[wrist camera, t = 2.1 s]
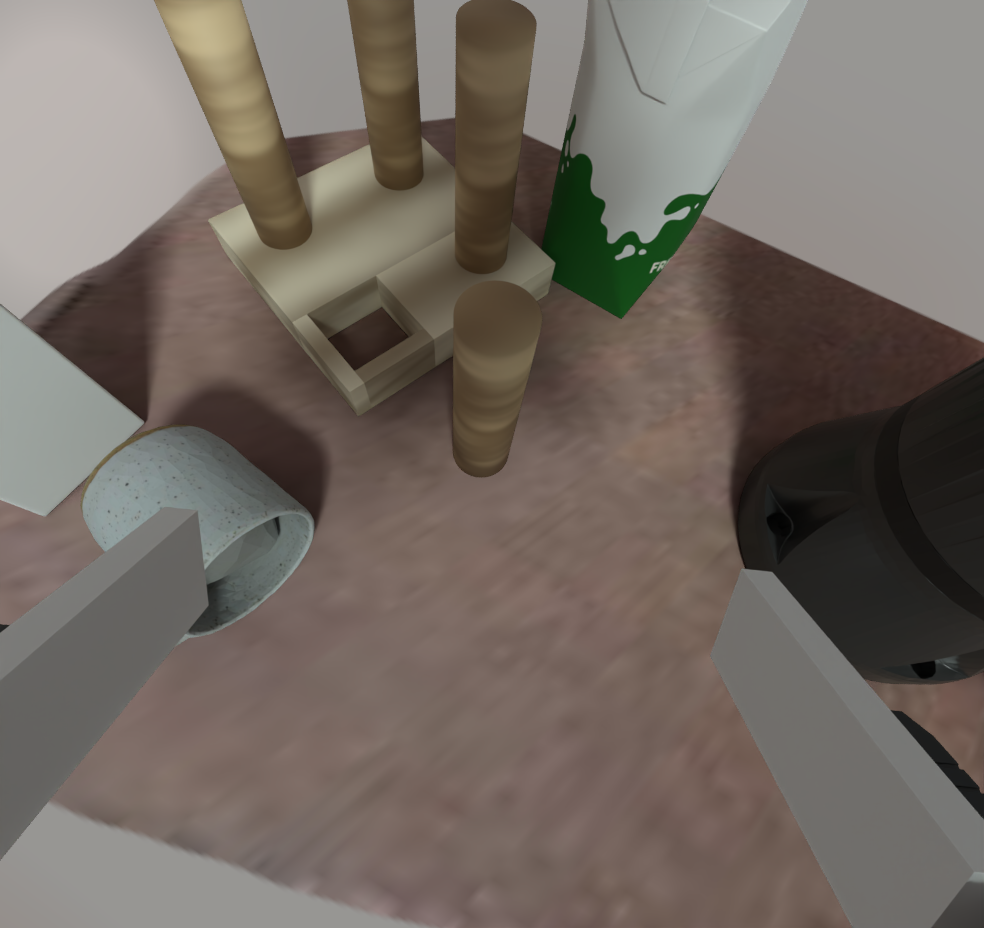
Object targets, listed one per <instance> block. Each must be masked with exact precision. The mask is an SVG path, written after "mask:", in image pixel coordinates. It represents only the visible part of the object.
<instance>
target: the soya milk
mask: <svg viewBox="0 0 984 928" xmlns="http://www.w3.org/2000/svg"><path fill="white" fill-rule="evenodd" d="M807 2H808V0H588V9H587V20H586V31H585V41H584V47H583V51H582V56H581V61H580V66H579V71H578V75H577V80H576V85H575V90H574V95H573V99H572V104H571V109H570V114H569V119H568V124H567V128H566V133H565V138H564V143H563V148H562V152H561V157H560V162H559V167H558V171H557V176H556V181H555V186H554V191H553V195H552V200H551V205H550V210H549V215H548V220H547V225H546V230H545V234H544V239H543V244H542V249H541V250H542V251H543V252H544V253H545V254H547V255H548V256H549V257H550V258H551V259H552V260H553V261H554V262H555V267H554V271H553V275H552V280H554V281H556V282H557V283H559V284H561V285H563V286H564V287H566V288H568V289H570V290H571V291H573V292H575V293H577V294H578V295H580V296H582V297H584V298H585V299H587V300H589V301H591V302H592V303H594V304H596V305H598V306H599V307H601V308H603V309H605V310H606V311H608V312H610V313H612V314H613V315H615V316H617V317H619V318H620V319H622V318H623V316H624V315H625V314H626V313H627V312H628V310H629V309H630V308H631V307H632V306H633V304H634V303H635V302H636V301H637V299H638V298H639V297H640V296H641V295H642V293H643V292H644V291H645V290H646V289H647V287H648V286H649V285H650V284H651V283H652V281H653V280H654V279H655V278H656V276H657V275H658V274H659V273H660V272H661V270H662V269H663V268H664V267H665V265H666V264H667V263H668V262H669V261H670V259H671V258H672V257H673V255H674V254H675V252H676V251H677V249H678V248H679V247H680V245H681V244H682V242H683V241H684V240H685V238H686V237H687V235H688V234H689V232H690V231H691V229H692V228H693V226H694V225H695V223H696V222H697V220H698V218H699V216H700V214H701V212H702V210H703V209H704V207H705V205H706V203H707V201H708V199H709V198H710V196H711V194H712V192H713V190H714V188H715V186H716V185H717V183H718V181H719V179H720V177H721V175H722V173H723V172H724V170H725V168H726V166H727V164H728V162H729V161H730V159H731V157H732V155H733V153H734V151H735V150H736V148H737V146H738V144H739V142H740V140H741V138H742V136H743V135H744V133H745V131H746V129H747V127H748V125H749V124H750V122H751V120H752V118H753V116H754V114H755V112H756V110H757V108H758V106H759V105H760V103H761V101H762V99H763V97H764V95H765V93H766V91H767V89H768V87H769V85H770V83H771V81H772V79H773V77H774V75H775V73H776V70H777V68H778V66H779V64H780V62H781V59H782V57H783V55H784V53H785V51H786V48H787V46H788V44H789V42H790V40H791V37H792V35H793V33H794V31H795V28H796V26H797V24H798V21H799V19H800V17H801V15H802V13H803V10H804V8H805V6H806V4H807Z"/></svg>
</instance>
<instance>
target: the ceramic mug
mask: <svg viewBox="0 0 984 928" xmlns="http://www.w3.org/2000/svg"><path fill="white" fill-rule="evenodd" d="M164 507H172V508H181V509H191V510H198V517H199V526H200V535H201V543H202V552H203V560H204V569H205V578H206V586H207V595H208V604H209V605H208V607H207V608H206V609H205V610H204V612H203V613H202V614H201V615H200V617H199V618H198V619H197V620H196V621H195V623H194V624H193V625H192V626H191V628H190V629H189V630H188V631H187V632H186V634H185V635H184V636H183V637H182V639H181V640H180V641H179V642H178V643H177V645H179V644H180V643H182V642H183V641H185V640H186V639H188V638H189V637H199V636H204V635H208V634H212V633H214V632H216V631H218V630H221V629H223V628H224V627H226V626H228V625H230V624H233V623H234V622H236V621H237V620H239V619H241V618H242V617H244V616H246V615H247V614H249V613H250V612H251V611H253V610H254V609H256V608H257V607H258V606H259V605H260V604H261V603H262V602H264V601H265V600H266V599H267V598H268V597H269V596H270V595H272V594H273V593H274V592H275V591H276V590H277V589H278V588H279V587H280V586H281V585H282V584H283V583H284V582H285V581H286V580H287V579H288V577H289V576H290V575H291V574H292V573H293V571H294V570H295V569H296V568H297V567H298V565H299V564H300V563H301V561H302V559H303V557H304V556H305V554H306V552H307V551H308V549H309V547H310V544H311V542H312V539H313V535H314V529H315V526H314V520H313V518H312V516H311V513H310V512H309V511H308V510H307V509H306V508H305V507H304V506H302V505H301V504H300V503H299V502H298V501H296V500H295V499H294V498H293V497H291V496H290V495H289V494H288V493H286V492H285V491H284V490H283V489H282V488H281V487H279V486H278V485H277V484H276V483H275V482H274V481H273V480H271V479H270V478H269V477H268V476H267V475H266V474H264V473H263V472H262V471H260V470H259V469H258V468H257V467H255V466H254V465H253V464H252V463H251V462H249V461H248V460H247V459H246V458H245V457H244V456H243V455H241V454H240V453H239V452H238V451H237V450H236V449H235V448H234V447H232V446H231V445H230V444H229V443H227V442H226V441H224V440H223V439H221V438H219V437H217V436H216V435H214V434H212V433H211V432H209V431H207V430H204V429H202V428H199V427H196V426H190V425H168V426H163V427H158V428H155V429H152V430H148V431H145V432H142V433H139V434H137V435H135V436H133V437H132V438H130V439H128V440H126V441H125V442H123V443H122V444H120V445H119V446H117V447H116V448H115V449H113V450H112V451H111V452H110V453H109V454H108V455H107V456H106V457H105V458H104V459H103V460H102V461H101V462H100V463H99V464H98V465H97V466H96V467H95V469H94V470H93V471H92V473H91V474H90V476H89V477H88V479H87V481H86V484H85V486H84V489H83V492H82V496H81V510H82V513H83V516H84V519H85V521H86V523H87V526H88V528H89V529H90V531H91V533H92V535H93V537H94V539H95V540H96V541H97V543H98V544H99V545H100V546H101V548H102V549H103V550H104V551H105V552H106V551H108V550H109V549H110V548H111V547H113V546H114V545H115V544H117V543H118V542H119V541H121V540H122V539H123V538H125V537H126V536H127V535H128V534H130V533H131V532H132V531H134V530H135V529H136V528H138V527H139V526H140V525H141V524H143V523H144V522H145V521H147V520H148V519H149V518H151V517H152V516H153V515H155V514H156V513H157V512H158V511H160V510H161V509H162V508H164Z"/></svg>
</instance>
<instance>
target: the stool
mask: <svg viewBox="0 0 984 928" xmlns="http://www.w3.org/2000/svg"><path fill="white" fill-rule="evenodd" d="M154 1H155V3H156V6H157V8H158V10H159V13H160V15H161V17H162V19H163V22H164V24H165V26H166V28H167V30H168V33H169V35H170V38H171V40H172V42H173V44H174V47H175V49H176V51H177V53H178V55H179V58H180V60H181V62H182V64H183V66H184V69H185V71H186V73H187V76H188V78H189V80H190V82H191V85H192V87H193V89H194V91H195V94H196V96H197V98H198V101H199V103H200V105H201V107H202V110H203V112H204V114H205V116H206V119H207V121H208V123H209V125H210V127H211V130H212V132H213V134H214V137H215V139H216V141H217V143H218V146H219V148H220V150H221V152H222V154H223V157H224V159H225V161H226V164H227V166H228V168H229V170H230V173H231V175H232V177H233V179H234V182H235V184H236V186H237V188H238V191H239V193H240V195H241V197H242V200H243V202H244V203H243V204H241V205H239V206H237V207H234V208H232V209H230V210H228V211H226V212H224V213H222V214H219V215H217V216H215V217H213V218H211V219H209V220H208V221H209V223H210V225H211V227H212V228H213V230H214V232H215V234H216V236H217V238H218V240H219V241H220V243H221V245H222V247H223V249H224V251H225V253H226V254H227V256H228V257H229V258H230V259H231V261H232V262H233V263H234V264H235V266H236V267H237V268H238V269H239V271H240V272H241V273H242V274H243V275H244V277H245V278H246V279H247V280H248V282H249V283H250V284H251V285H252V287H253V288H254V289H255V290H256V291H257V293H258V294H259V295H260V296H261V298H262V299H263V300H264V301H265V302H266V304H267V305H268V306H269V307H270V309H271V310H272V311H273V312H274V314H275V315H276V316H277V317H278V318H279V320H280V321H281V322H282V323H283V325H284V326H285V327H286V328H287V330H288V331H289V332H290V333H291V334H292V336H293V337H294V338H295V339H296V341H297V342H298V343H299V344H300V345H301V347H302V348H303V349H304V350H305V352H306V353H307V354H308V355H309V357H310V358H311V359H312V360H313V361H314V363H315V364H316V365H317V366H318V368H319V369H320V370H321V371H322V373H323V374H324V375H325V376H326V377H327V379H328V380H329V381H330V382H331V384H332V385H333V386H334V387H335V389H336V390H337V391H338V392H339V393H340V395H341V396H342V397H343V398H344V400H345V401H346V402H347V403H348V404H349V406H350V407H351V408H352V409H353V411H354V412H355V413H356V414H357V416H358V417H359V416H360V415H362V414H363V413H365V412H367V411H368V410H370V409H371V408H373V407H374V406H376V405H377V404H379V403H380V402H382V401H384V400H385V399H387V398H388V397H390V396H391V395H393V394H394V393H396V392H397V391H399V390H401V389H402V388H404V387H405V386H407V385H408V384H410V383H411V382H413V381H414V380H416V379H417V378H419V377H421V376H422V375H424V374H425V373H427V372H428V371H430V370H431V369H433V368H434V367H436V366H438V365H439V364H441V363H442V362H444V361H445V360H447V359H448V358H450V357H451V356H453V314H454V307H455V304H456V302H457V300H458V298H459V297H460V295H461V294H462V293H463V292H464V291H465V290H467V289H468V288H469V287H471V286H473V285H475V284H478V283H481V282H485V281H493V280H497V281H506V282H510V283H513V284H516V285H518V286H520V287H522V288H524V289H525V290H526V291H528V292H529V293H530V294H531V295H532V296H533V297H534V298H535V300H536V301H538V300H539V299H541V298H542V297H544V296H546V295H547V294H548V291H549V287H550V283H551V279H552V275H553V271H554V267H555V262H554V261H553V260H552V259H551V258H550V257H549V256H548V255H547V254H545V253H544V252H543V251H542V250H541V249H540V248H539V247H538V246H537V245H536V244H535V243H534V242H533V241H532V240H531V239H530V238H529V237H527V236H526V235H525V234H524V233H523V232H522V231H521V230H520V229H519V228H518V227H517V226H516V225H515V224H514V223H513V222H512V221H511V219H512V211H513V203H514V196H515V188H516V180H517V172H518V165H519V157H520V149H521V142H522V134H523V126H524V118H525V111H526V103H527V95H528V87H529V80H530V72H531V65H532V57H533V49H534V42H535V34H536V19H535V17H534V16H533V14H532V13H531V12H530V11H529V10H528V9H527V8H526V7H524V6H523V5H521V4H519V3H517V2H515V1H512V0H471V1H469V2H467V3H465V4H464V5H463V6H461V7H460V8H459V10H458V12H457V15H456V111H455V112H456V113H455V168H454V167H453V166H452V165H451V164H450V163H449V162H448V161H447V160H446V159H445V158H444V157H443V156H442V155H441V154H440V153H438V152H437V151H436V150H435V149H434V148H433V147H432V146H431V145H430V144H429V143H428V142H427V141H426V140H425V139H424V138H423V137H422V136H421V119H420V102H419V85H418V68H417V52H416V51H417V50H416V33H415V16H414V0H347V2H348V8H349V14H350V21H351V27H352V34H353V39H354V46H355V53H356V59H357V66H358V72H359V79H360V85H361V91H362V97H363V103H364V111H365V117H366V123H367V130H368V136H369V142H370V144H369V145H367V146H365V147H363V148H361V149H358V150H356V151H354V152H352V153H350V154H348V155H346V156H343V157H341V158H339V159H337V160H335V161H333V162H331V163H329V164H326V165H324V166H322V167H320V168H318V169H316V170H314V171H311V172H309V173H307V174H305V175H303V176H301V177H299V178H297V176H296V173H295V170H294V167H293V163H292V160H291V157H290V154H289V151H288V148H287V144H286V141H285V138H284V135H283V132H282V128H281V125H280V122H279V119H278V116H277V112H276V109H275V106H274V103H273V100H272V97H271V94H270V90H269V87H268V84H267V81H266V78H265V74H264V71H263V68H262V65H261V62H260V58H259V55H258V52H257V49H256V46H255V43H254V40H253V36H252V33H251V30H250V27H249V23H248V20H247V17H246V14H245V11H244V7H243V4H242V1H241V0H154ZM381 307H382V308H383V309H384V310H385V311H386V312H387V313H388V314H389V315H390V316H391V318H392V319H393V320H394V321H395V322H396V323H397V324H398V325H399V327H400V328H401V329H402V330H403V331H404V332H405V333H406V334H407V335H408V337H409V338H407V339H406V340H404V341H402V342H401V343H399V344H398V345H396V346H394V347H393V348H391V349H389V350H388V351H386V352H385V353H383V354H381V355H380V356H378V357H376V358H375V359H373V360H372V361H370V362H368V363H367V364H365V365H363V366H362V367H360V368H359V369H357V370H355V371H354V370H353V369H352V368H351V367H350V365H349V364H348V363H347V362H346V361H345V359H344V358H343V357H342V356H341V355H340V353H339V352H338V351H337V350H336V349H335V347H334V346H333V345H332V344H331V343H330V341H329V340H328V338H330V337H331V336H333V335H335V334H336V333H338V332H340V331H342V330H343V329H345V328H347V327H348V326H350V325H352V324H354V323H355V322H357V321H359V320H360V319H362V318H364V317H366V316H367V315H369V314H371V313H372V312H374V311H376V310H378V309H379V308H381Z"/></svg>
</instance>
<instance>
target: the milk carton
mask: <svg viewBox="0 0 984 928" xmlns="http://www.w3.org/2000/svg"><path fill="white" fill-rule="evenodd" d="M143 424H144V421H143V420H142V419H141V418H140V417H138V416H137V415H136V414H135V413H134V412H132V411H131V410H130V409H129V408H127V407H126V406H125V405H124V404H122V403H121V402H120V401H119V400H118V399H116V398H115V397H114V396H113V395H111V394H110V393H109V392H108V391H107V390H105V389H104V388H103V387H102V386H100V385H99V384H98V383H97V382H96V381H94V380H93V379H92V378H91V377H89V376H88V375H87V374H86V373H84V372H83V371H82V370H81V369H80V368H78V367H77V366H76V365H75V364H73V363H72V362H71V361H70V360H69V359H67V358H66V357H65V356H64V355H62V354H61V353H60V352H59V351H58V350H56V349H55V348H54V347H53V346H51V345H50V344H49V343H48V342H46V341H45V340H44V339H43V338H42V337H40V336H39V335H38V334H37V333H35V332H34V331H33V330H32V329H31V328H29V327H28V326H27V325H26V324H24V323H23V322H22V321H21V320H20V319H18V318H17V317H16V316H14V315H13V314H12V313H11V312H10V311H8V310H7V309H6V308H5V307H4V306H2V305H1V304H0V500H3V501H5V502H8V503H10V504H13V505H16V506H18V507H21V508H23V509H26V510H29V511H31V512H34V513H37V514H39V515H42V516H47V515H48V514H49V513H50V512H51V511H52V510H53V509H54V508H55V507H56V506H57V505H58V504H60V503H61V502H62V501H63V500H64V499H65V498H66V497H67V496H68V495H69V494H70V493H71V492H72V491H73V490H74V489H75V488H77V487H78V486H79V485H80V484H81V483H82V482H83V481H84V480H85V479H86V478H87V477H88V476H89V475H90V474H91V473H92V471H93V470H94V469H95V467H96V466H97V465H98V464H99V463H100V462H101V461H102V460H103V459H104V458H105V457H106V456H107V455H108V454H109V453H110V452H111V451H112V450H113V449H115V448H116V447H117V446H119V445H120V444H122V443H123V442H125V441H126V440H127V439H128V438H129V437H130V436H131V435H133V434H134V433H135V432H136V431H137V430H138V429H139V428H140V427H141V426H142V425H143Z"/></svg>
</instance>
